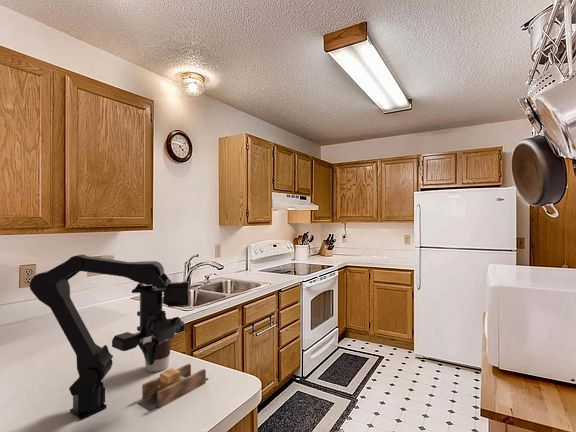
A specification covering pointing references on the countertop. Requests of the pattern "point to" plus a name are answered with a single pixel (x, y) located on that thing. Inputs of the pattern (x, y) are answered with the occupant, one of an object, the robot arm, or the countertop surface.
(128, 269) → the robot arm
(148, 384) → the trough
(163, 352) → the coffee cup
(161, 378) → the block
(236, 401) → the countertop surface
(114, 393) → the countertop surface
